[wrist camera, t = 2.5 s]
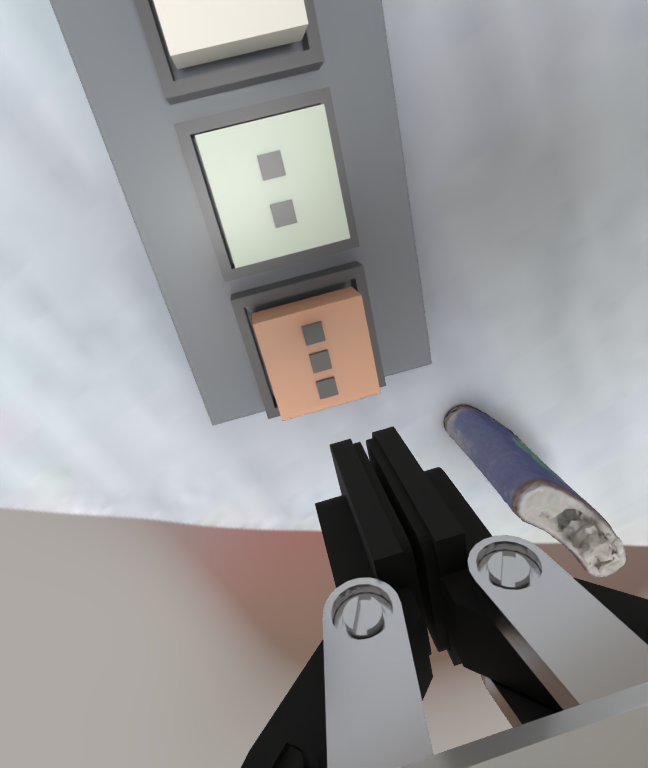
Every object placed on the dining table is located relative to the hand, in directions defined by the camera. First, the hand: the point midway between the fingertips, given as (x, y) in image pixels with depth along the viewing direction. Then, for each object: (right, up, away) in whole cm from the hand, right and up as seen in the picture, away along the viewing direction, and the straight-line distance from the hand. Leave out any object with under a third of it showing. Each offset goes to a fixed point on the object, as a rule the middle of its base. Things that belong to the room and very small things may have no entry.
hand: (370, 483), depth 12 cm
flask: (+10, -2, +20) cm, 23 cm away
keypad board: (-4, +12, +11) cm, 17 cm away
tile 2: (-3, +11, +8) cm, 14 cm away
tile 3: (-2, +4, +11) cm, 12 cm away
